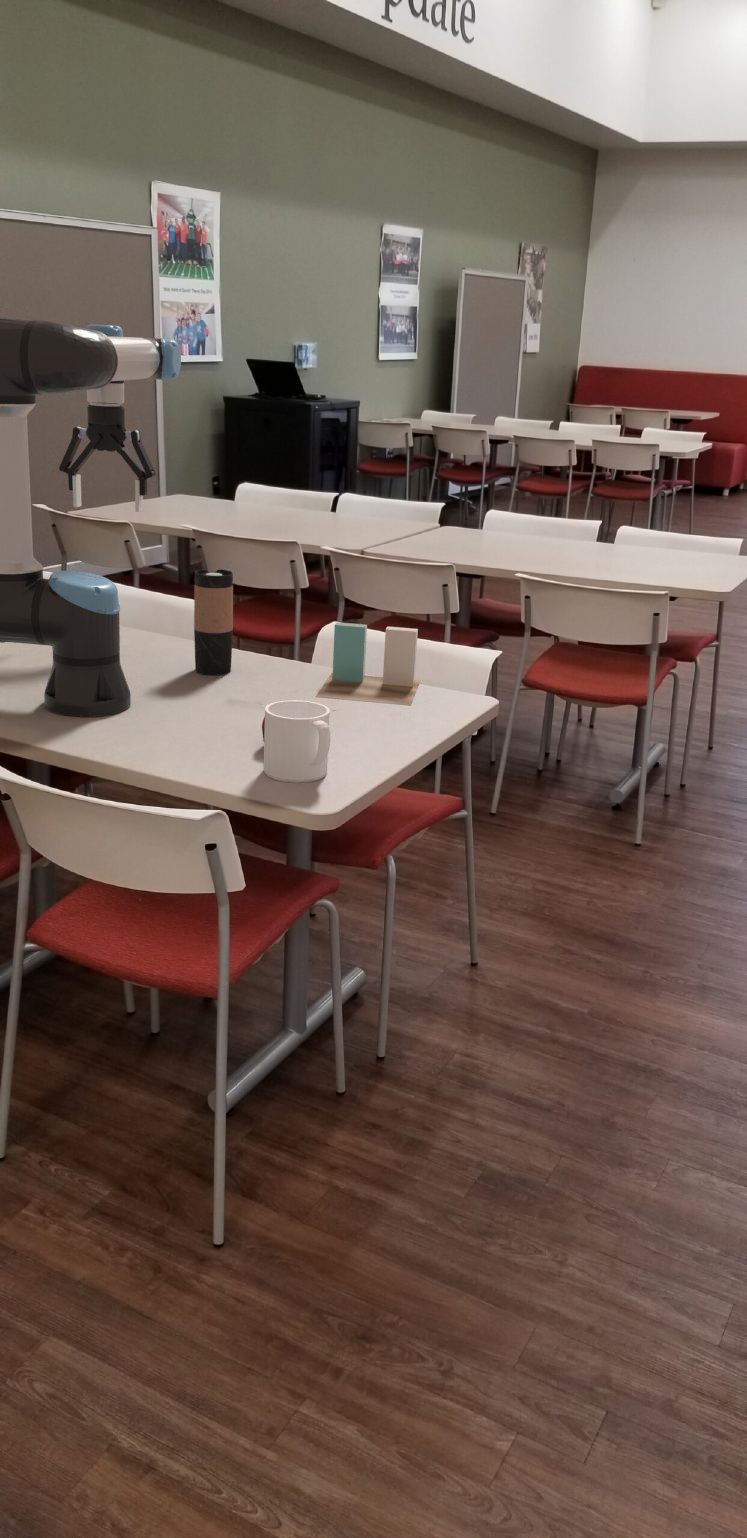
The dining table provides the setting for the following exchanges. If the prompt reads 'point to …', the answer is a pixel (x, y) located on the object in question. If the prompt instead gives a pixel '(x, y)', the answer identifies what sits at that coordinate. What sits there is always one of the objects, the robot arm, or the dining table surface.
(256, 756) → the dining table surface
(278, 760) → the mug
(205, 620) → the travel mug
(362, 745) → the dining table surface
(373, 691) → the board
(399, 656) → the tile plain
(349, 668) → the tile teal
